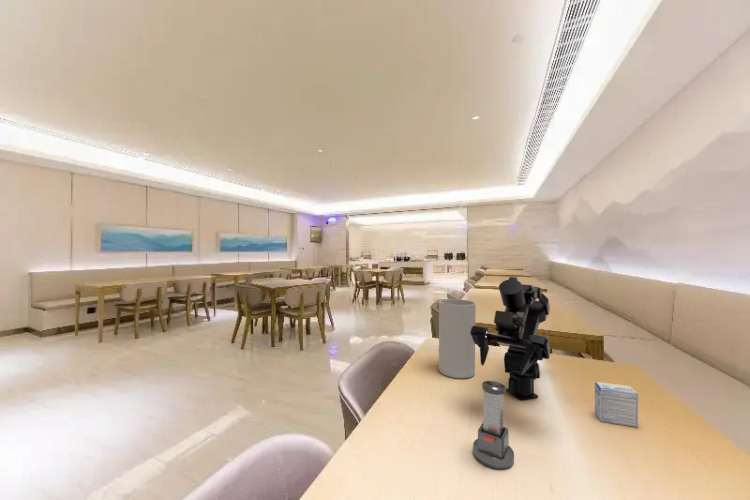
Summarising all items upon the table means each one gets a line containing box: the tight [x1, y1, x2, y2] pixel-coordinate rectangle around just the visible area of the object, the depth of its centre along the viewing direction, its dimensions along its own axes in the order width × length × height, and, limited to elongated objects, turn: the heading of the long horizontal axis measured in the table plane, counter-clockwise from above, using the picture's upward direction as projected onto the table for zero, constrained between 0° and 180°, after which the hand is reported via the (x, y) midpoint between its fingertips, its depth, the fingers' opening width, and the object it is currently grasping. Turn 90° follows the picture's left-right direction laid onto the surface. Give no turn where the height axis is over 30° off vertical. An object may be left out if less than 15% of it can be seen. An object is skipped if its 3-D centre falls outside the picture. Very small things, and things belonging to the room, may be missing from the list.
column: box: [481, 380, 507, 438], centre depth 63 cm, size 5×5×13 cm
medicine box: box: [594, 381, 639, 428], centre depth 77 cm, size 8×4×9 cm, turn 71°
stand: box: [472, 422, 515, 471], centre depth 63 cm, size 8×8×6 cm
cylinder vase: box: [438, 298, 477, 379], centre depth 107 cm, size 12×12×25 cm
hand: (500, 369), depth 74 cm, fingers open, 9 cm apart
